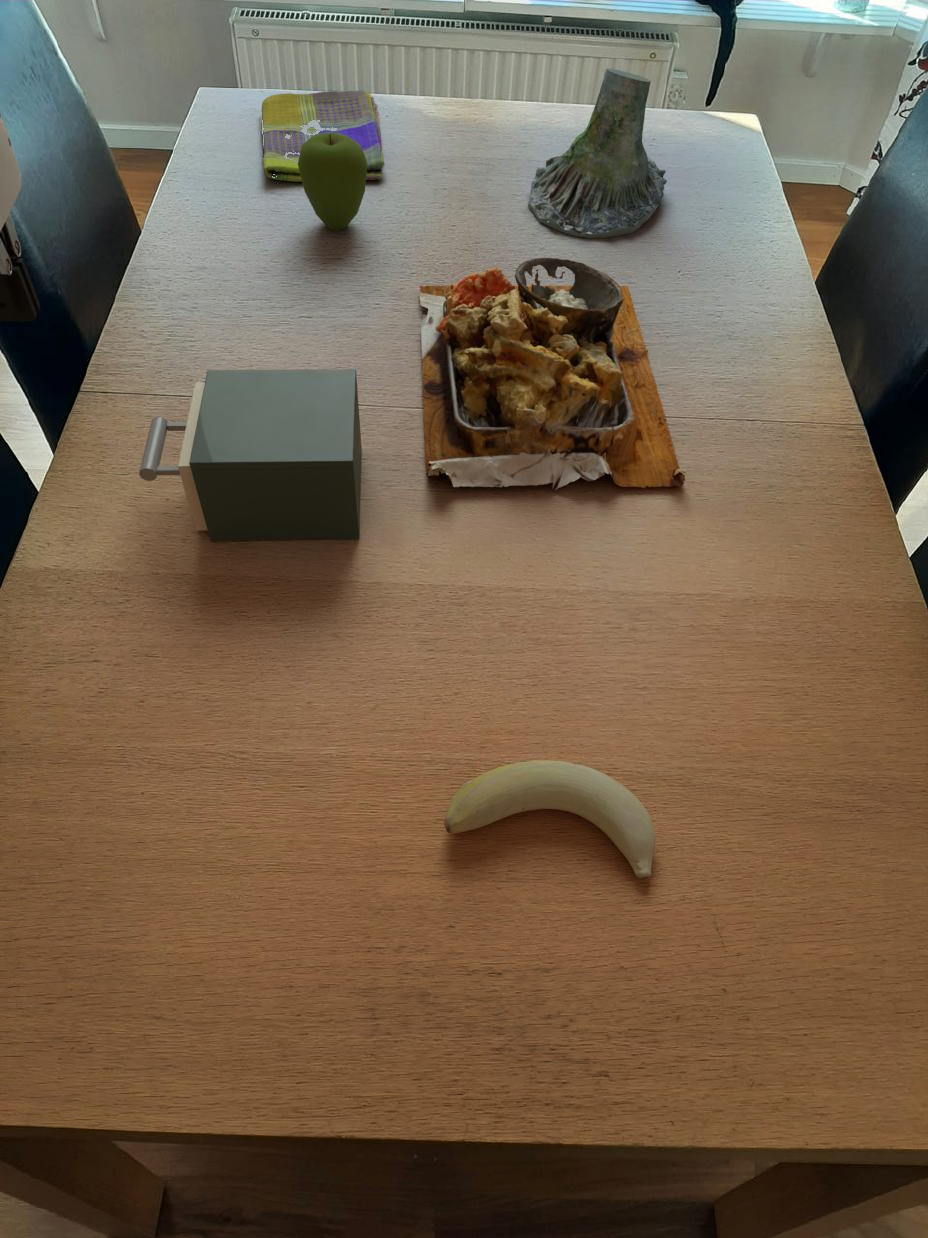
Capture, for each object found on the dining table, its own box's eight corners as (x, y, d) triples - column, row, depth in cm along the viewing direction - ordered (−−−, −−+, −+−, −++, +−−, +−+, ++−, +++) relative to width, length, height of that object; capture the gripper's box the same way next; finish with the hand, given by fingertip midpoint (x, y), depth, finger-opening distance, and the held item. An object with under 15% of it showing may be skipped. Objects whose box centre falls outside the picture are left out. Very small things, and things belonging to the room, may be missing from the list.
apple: (383, 228, 118) (380, 136, 109) (330, 249, 114) (322, 156, 105) (344, 201, 122) (338, 110, 113) (291, 220, 118) (280, 128, 109)
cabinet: (210, 541, 83) (188, 462, 75) (225, 449, 90) (207, 369, 83) (359, 539, 83) (353, 461, 76) (361, 448, 91) (356, 368, 84)
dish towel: (259, 185, 124) (256, 164, 121) (262, 107, 138) (260, 88, 136) (387, 182, 125) (386, 162, 123) (377, 106, 140) (376, 86, 138)
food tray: (418, 291, 109) (418, 204, 101) (626, 291, 110) (643, 206, 102) (426, 494, 87) (426, 404, 79) (685, 490, 89) (712, 403, 80)
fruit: (461, 755, 70) (462, 733, 67) (656, 793, 68) (665, 772, 66) (441, 840, 65) (441, 820, 63) (649, 883, 64) (658, 864, 61)
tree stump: (494, 208, 123) (519, 55, 112) (573, 193, 136) (603, 55, 125) (606, 250, 115) (645, 91, 104) (679, 230, 128) (720, 87, 117)
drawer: (148, 531, 82) (126, 466, 76) (167, 447, 89) (148, 382, 83) (334, 528, 83) (326, 464, 77) (337, 445, 90) (331, 381, 84)
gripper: (-121, -16, 56) (-9, 259, 70) (-220, 86, 47) (-68, 378, 61) (4, -13, 56) (89, 259, 71) (-70, 88, 47) (45, 378, 62)
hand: (16, 314), depth 66 cm, fingers closed
